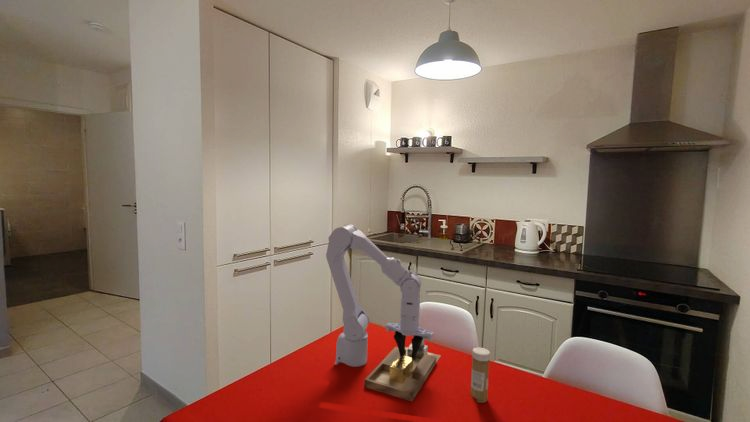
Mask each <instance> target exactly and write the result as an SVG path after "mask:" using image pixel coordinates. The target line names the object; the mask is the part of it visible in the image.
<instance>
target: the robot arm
mask: <svg viewBox="0 0 750 422" xmlns="http://www.w3.org/2000/svg"><path fill="white" fill-rule="evenodd" d="M327 239H328V245H327V249H326V253H325V257H326V261H327V264H328V267H329V269H330V270H329V271H330V274H331V276H332V278H333V283H334V285H335V289H336V292H337V295H338V298H339V302H340V304H341V308H342V322H343V329H342V331H343V332H341V333H340V334H339V335H338V338H337V340H336V344H335V345H336V346H335V347H336V348H335V349H336V352H335V362H334V365H339V363H342V364H345V365H346V366H348V367H349V366H350V367H354V368H355V367H362V366H364V365H366V364H367V362H368V342H369V341H368V339H369V338H368V337H369V334H368V332H367V328H368V326H369V324H370V317H369V315H368V314H367V313H366V312H365V310H364V308H363V306H362V305H361V304H360V303H359V300H358V297H357V294H356V293H357V292H356V291H355V288H354V285H353V282H352V278H351V276H350V271H349V269H348V266H347V263H346V260H345V254H346V253H347V251H348V250H349V249H353V250H360V251H362V252H364V253H365V254H366V255H367V256H368V257H369V258H371V259H372V260H373V261H375V263H377V264H378V265H379V266H380V267H381V272H382V273H383V274H384V275H385V276H386V277H387V278H388V279H389V280H391V281H392V282H393V283H394V284H395V285H396V286H397V287H399V290H400V293H401V300H400V317H399V319H400V322H399V323H393V322H392V323H391V322H388V323H386V327H385V331H386V332H394V335H393V340H395V343H396V345H397V346H396V347H398V349H399V353H400V356H401V355H403V356H404V354H405V347H406V338H407V337H408V336H412V339H411V343H412V358H413V360H415V359H416V356H417V352H418V349H419V346H420V344H421V342H422V340H423V338H424V340H425V339H426V340H428V341H429V342H430V341H433V338H434V332H433V331H430V330H427V329H424V328H422V327H420V310H421V299H420V298H421V293H420V292H421V286H422V281H421V278H420V276H419V275H418V274H417V273H414V272H413V271H412V270H411V269H410V270H409V269H408V268H407V267H406V266H405V265H403V264H402V263H401V262H402V260H400V259H399V258H395V257H393V256H392V257H389V256H387V255H386V254H385V252H383V251H382V250H381V249H380V248H379V247H378V246H377V245H375V243H374V242H372V240H370V239H369V237H367V236H366V234H365V233H364V232H362V231H361V230H360V229H358V228H357V227H356V226H355V225H353V224H350V223H347V224H344V225H342V226H339V227H336V228H334V229H333V230H332V231H331V233H330V235H329V236H328V238H327ZM413 336H414V338H413Z"/></svg>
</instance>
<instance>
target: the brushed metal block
mask: <svg viewBox="0 0 750 422" xmlns="http://www.w3.org/2000/svg"><path fill="white" fill-rule="evenodd" d="M413 338H414V336H412V339H413ZM407 347H408V351H407V356H409V357H412V342H411V343H410V344H409V346H407ZM428 347H429V346H428V345H426V344H425V338H423V340H422V342H421V344H420V346H419V349H418V352H417V356H416V358H418V359H422V358H423V356H424V355H425V354H427V352H428Z"/></svg>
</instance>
